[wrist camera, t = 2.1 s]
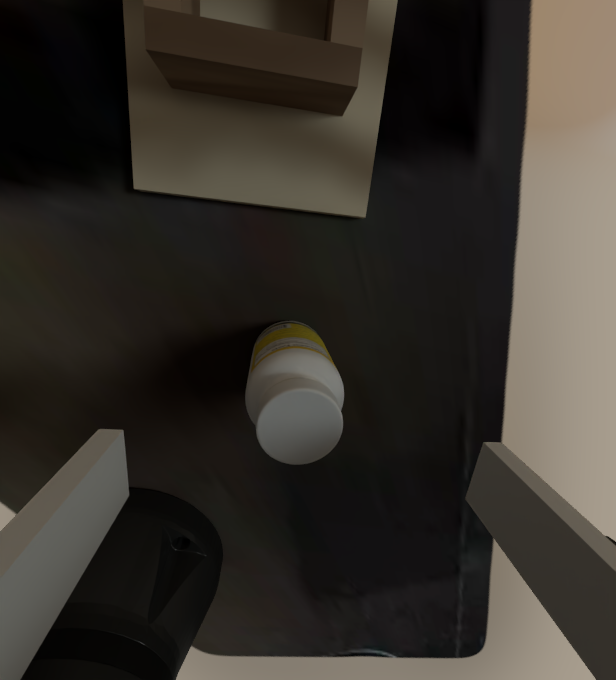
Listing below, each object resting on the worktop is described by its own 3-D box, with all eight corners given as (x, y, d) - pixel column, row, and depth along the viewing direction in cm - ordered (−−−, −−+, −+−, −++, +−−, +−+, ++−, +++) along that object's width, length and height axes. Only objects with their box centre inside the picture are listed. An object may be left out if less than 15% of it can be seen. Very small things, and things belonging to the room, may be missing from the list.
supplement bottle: (309, 394, 24) (330, 489, 15) (243, 374, 23) (221, 462, 14) (335, 333, 23) (377, 395, 14) (267, 308, 22) (261, 357, 12)
